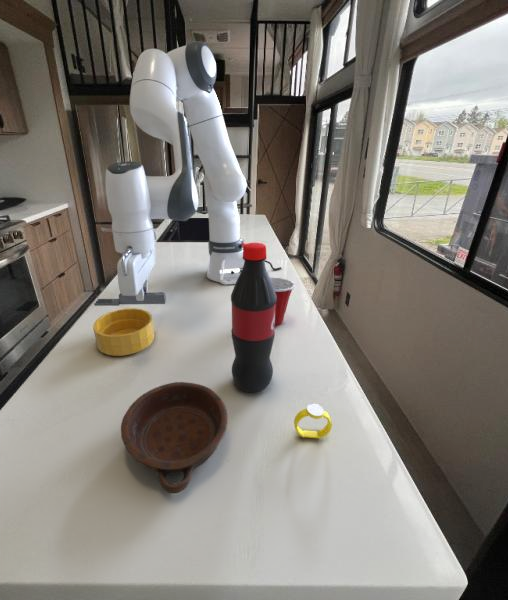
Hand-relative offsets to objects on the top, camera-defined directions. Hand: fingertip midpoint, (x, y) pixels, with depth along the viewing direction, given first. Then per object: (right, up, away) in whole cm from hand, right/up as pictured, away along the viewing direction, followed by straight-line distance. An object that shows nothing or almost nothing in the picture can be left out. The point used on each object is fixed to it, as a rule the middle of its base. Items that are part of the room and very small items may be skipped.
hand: (142, 296), depth 78 cm
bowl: (-5, -11, +5) cm, 14 cm away
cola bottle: (+26, -18, -10) cm, 33 cm away
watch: (+35, -24, -23) cm, 48 cm away
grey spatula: (-3, -1, +1) cm, 3 cm away
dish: (+12, -25, -22) cm, 35 cm away
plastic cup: (+34, -7, +13) cm, 37 cm away
